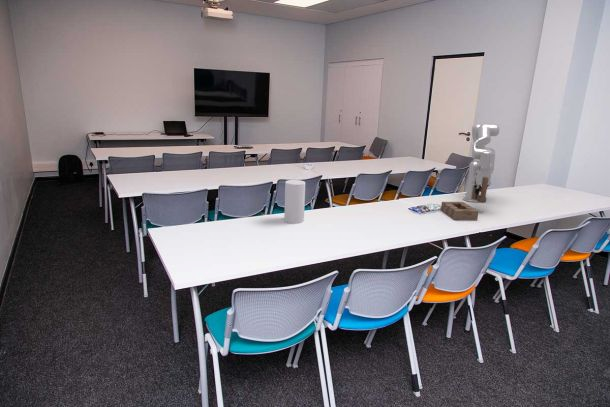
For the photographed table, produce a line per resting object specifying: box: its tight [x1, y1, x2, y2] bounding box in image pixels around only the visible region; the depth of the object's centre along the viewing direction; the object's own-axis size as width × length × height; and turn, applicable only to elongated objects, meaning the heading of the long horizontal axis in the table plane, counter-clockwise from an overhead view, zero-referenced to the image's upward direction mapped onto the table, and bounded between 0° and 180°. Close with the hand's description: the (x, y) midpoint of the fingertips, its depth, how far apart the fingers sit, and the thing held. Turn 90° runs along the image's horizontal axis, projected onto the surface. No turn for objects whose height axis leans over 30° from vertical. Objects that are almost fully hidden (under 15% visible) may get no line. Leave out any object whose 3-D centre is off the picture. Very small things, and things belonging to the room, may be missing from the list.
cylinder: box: [283, 179, 306, 225], centre depth 251 cm, size 12×12×25 cm
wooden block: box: [471, 177, 489, 204], centre depth 284 cm, size 4×11×18 cm, turn 20°
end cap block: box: [440, 201, 480, 221], centre depth 278 cm, size 22×16×6 cm
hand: (479, 193), depth 285 cm, fingers closed on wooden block, 4 cm apart
